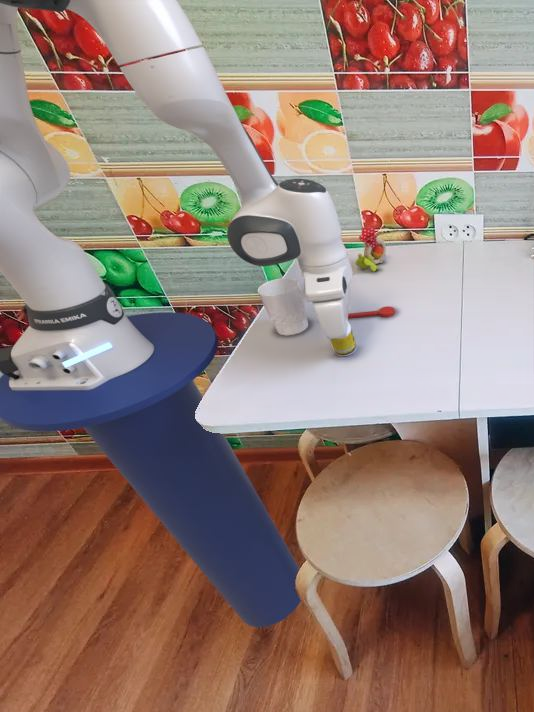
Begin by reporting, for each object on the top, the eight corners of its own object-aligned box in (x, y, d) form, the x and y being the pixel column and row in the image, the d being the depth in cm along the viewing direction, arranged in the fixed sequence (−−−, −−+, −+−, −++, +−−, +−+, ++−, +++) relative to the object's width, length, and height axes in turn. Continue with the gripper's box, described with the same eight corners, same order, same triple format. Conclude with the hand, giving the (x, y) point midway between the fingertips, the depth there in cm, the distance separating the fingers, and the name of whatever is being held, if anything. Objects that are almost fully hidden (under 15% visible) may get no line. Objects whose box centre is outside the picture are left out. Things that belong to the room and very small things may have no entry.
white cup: (278, 341, 98) (261, 299, 92) (270, 325, 104) (254, 284, 97) (315, 330, 102) (302, 289, 95) (306, 314, 107) (292, 274, 101)
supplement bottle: (361, 349, 95) (354, 323, 88) (340, 361, 93) (331, 334, 86) (348, 335, 97) (340, 307, 90) (328, 345, 95) (318, 319, 88)
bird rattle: (372, 268, 130) (349, 267, 122) (375, 227, 127) (352, 224, 119) (390, 272, 128) (368, 272, 120) (394, 231, 125) (371, 228, 117)
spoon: (323, 323, 104) (322, 320, 103) (325, 315, 107) (324, 312, 106) (395, 316, 106) (394, 313, 106) (394, 308, 109) (394, 305, 108)
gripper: (315, 251, 95) (333, 309, 104) (303, 298, 79) (326, 363, 88) (347, 247, 96) (362, 306, 105) (341, 294, 80) (360, 358, 89)
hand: (345, 332), depth 96 cm, fingers closed
